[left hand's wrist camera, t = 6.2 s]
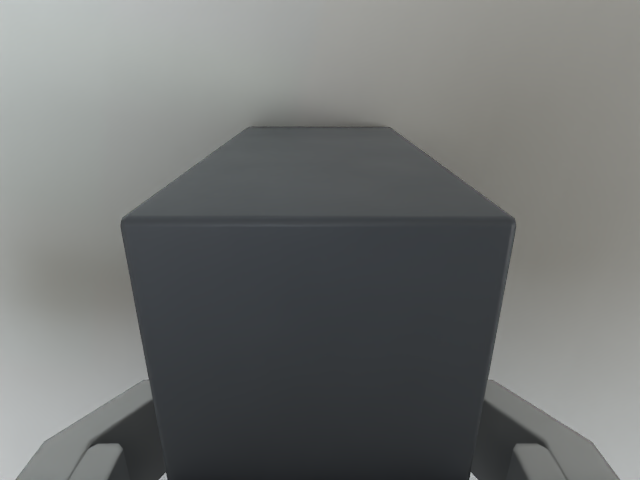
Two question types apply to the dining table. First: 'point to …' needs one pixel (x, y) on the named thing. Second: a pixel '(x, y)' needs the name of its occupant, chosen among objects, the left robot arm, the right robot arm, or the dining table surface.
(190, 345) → the post
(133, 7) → the dining table surface
